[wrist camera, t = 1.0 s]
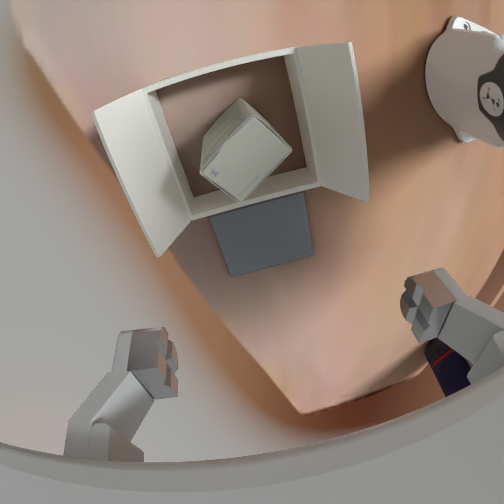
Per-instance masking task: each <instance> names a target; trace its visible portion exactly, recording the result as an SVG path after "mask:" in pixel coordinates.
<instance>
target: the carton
mask: <svg viewBox="0 0 504 504" xmlns="http://www.w3.org/2000/svg"><path fill="white" fill-rule="evenodd" d="M282 55H283V56H284V60H285V64H286V68H287V73H288V77H289V81H290V86H291V90H292V95H293V100H294V104H295V109H296V114H297V119H298V124H299V129H300V134H301V139H302V145H303V150H304V156H305V161H306V167H305V168H301V169H297V170H293V171H289V172H285V173H281V174H277V175H273V176H269V177H267V178H266V179H265V180H264V181H263V182H262V183H261V184H260V185H259V186H258V187H257V188H256V189H255V190H254V191H253V192H252V193H251V194H250V195H249V196H248V197H247V198H246V199H245V200H244V201H243V202H242V203H239V202H237V201H236V200H234V199H233V198H232V197H230V196H229V195H227V194H226V193H224V192H223V191H222V190H217V191H214V192H211V193H207V194H204V195H200V196H197V197H194V196H193V194H192V191H191V188H190V186H189V183H188V180H187V178H186V175H185V172H184V169H183V167H182V164H181V161H180V158H179V156H178V153H177V150H176V147H175V145H174V142H173V139H172V136H171V133H170V130H169V128H168V125H167V122H166V119H165V116H164V113H163V110H162V107H161V104H160V102H159V99H158V96H157V93H156V90H157V89H159V88H162V87H165V86H168V85H171V84H174V83H177V82H180V81H183V80H186V79H189V78H192V77H195V76H198V75H202V74H205V73H209V72H212V71H216V70H219V69H223V68H227V67H231V66H235V65H239V64H243V63H248V62H252V61H257V60H261V59H266V58H271V57H276V56H282ZM91 116H92V118H93V121H94V123H95V126H96V129H97V131H98V133H99V136H100V138H101V141H102V143H103V146H104V148H105V150H106V153H107V155H108V157H109V160H110V162H111V164H112V167H113V169H114V171H115V174H116V176H117V178H118V180H119V182H120V185H121V187H122V189H123V191H124V193H125V196H126V198H127V200H128V202H129V204H130V206H131V208H132V210H133V212H134V215H135V217H136V218H137V221H138V222H139V225H140V227H141V229H142V231H143V233H144V235H145V237H146V239H147V241H148V243H149V245H150V246H151V248H152V250H153V252H154V254H155V256H156V257H158V258H160V257H161V255H162V254H163V253H164V252H165V251H166V250H167V248H168V247H169V246H170V245H171V244H172V243H173V241H174V240H175V239H176V238H177V237H178V236H179V234H180V233H181V232H182V231H183V230H184V229H185V228H186V226H187V225H188V224H189V223H190V221H193V220H196V219H200V218H203V217H207V216H210V215H214V214H217V213H221V212H224V211H228V210H232V209H235V208H239V207H243V206H246V205H250V204H254V203H257V202H261V201H265V200H269V199H272V198H276V197H280V196H284V195H288V194H292V193H296V192H300V191H304V190H308V189H312V188H316V187H320V186H322V187H325V188H328V189H331V190H334V191H337V192H340V193H342V194H345V195H348V196H351V197H354V198H357V199H359V200H362V201H365V202H368V201H369V200H370V192H369V173H368V159H367V147H366V136H365V127H364V118H363V109H362V102H361V94H360V87H359V81H358V75H357V68H356V63H355V57H354V52H353V46H352V42H344V43H330V44H318V45H308V46H300V47H289V48H282V49H277V50H271V51H266V52H261V53H256V54H252V55H247V56H243V57H239V58H234V59H230V60H226V61H223V62H219V63H215V64H212V65H208V66H205V67H201V68H198V69H194V70H191V71H188V72H185V73H182V74H179V75H176V76H173V77H170V78H167V79H164V80H161V81H159V82H156V83H153V84H151V85H148V86H146V87H144V88H142V89H140V90H137V91H135V92H133V93H130V94H128V95H126V96H124V97H122V98H119V99H117V100H115V101H113V102H111V103H109V104H107V105H105V106H103V107H101V108H99V109H97V110H95V111H93V112H91Z"/></svg>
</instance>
